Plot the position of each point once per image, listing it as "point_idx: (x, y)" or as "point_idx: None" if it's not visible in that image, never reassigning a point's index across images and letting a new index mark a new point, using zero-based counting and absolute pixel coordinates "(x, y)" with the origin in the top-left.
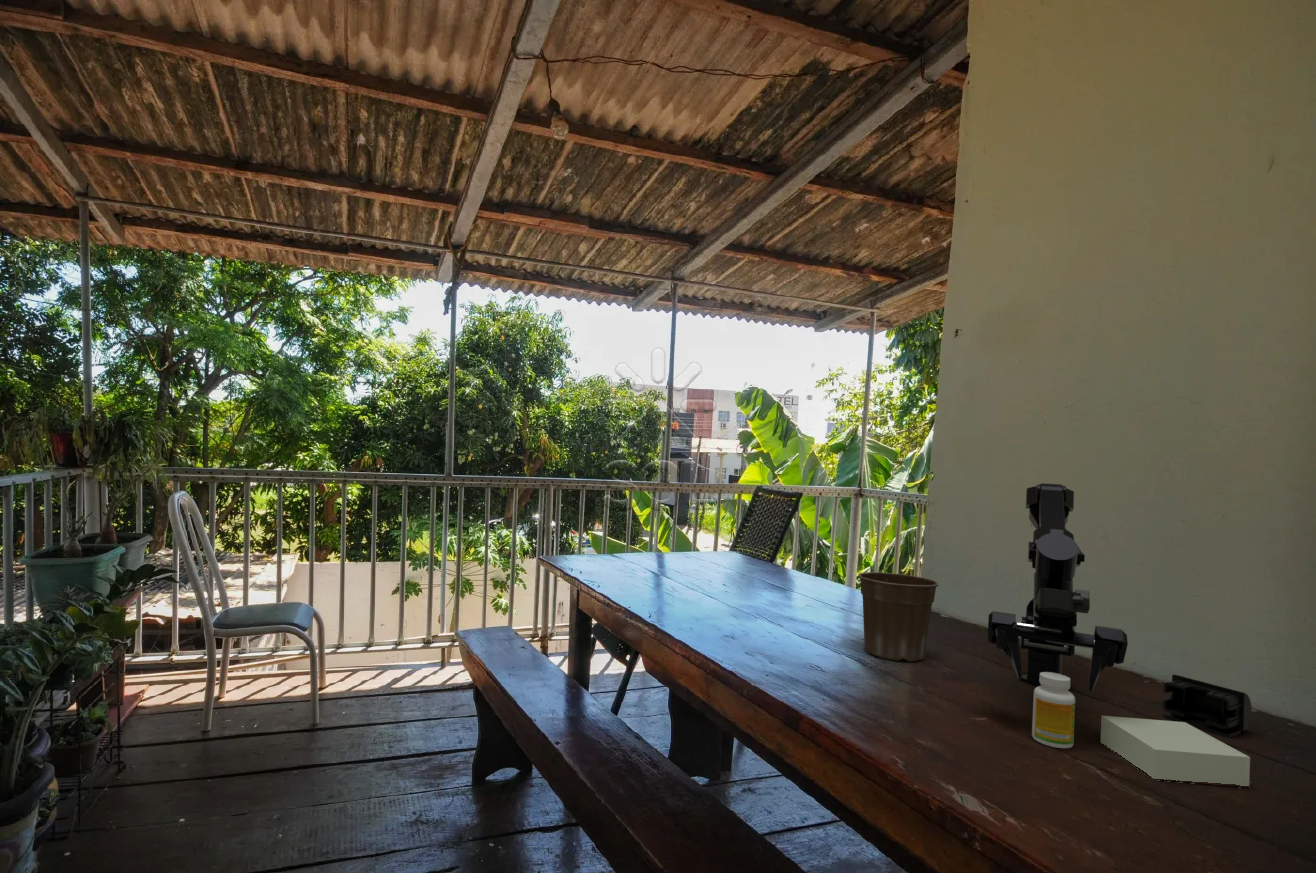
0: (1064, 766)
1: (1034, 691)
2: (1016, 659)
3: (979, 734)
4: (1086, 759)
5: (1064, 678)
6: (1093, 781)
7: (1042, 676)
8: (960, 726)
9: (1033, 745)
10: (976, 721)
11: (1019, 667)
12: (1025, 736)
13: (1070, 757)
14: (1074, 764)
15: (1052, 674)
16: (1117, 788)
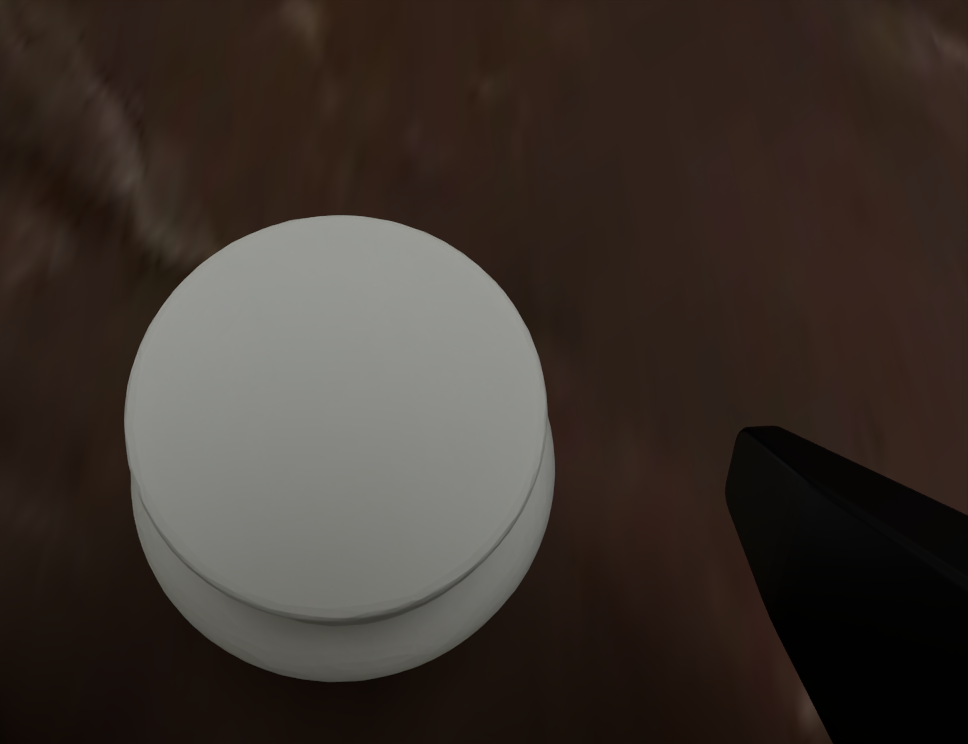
0: (305, 138)
1: (547, 419)
2: (957, 535)
3: (762, 336)
4: None
5: (211, 351)
6: (176, 28)
7: (504, 293)
8: (882, 402)
9: None
10: None
11: (830, 469)
12: None
13: None
14: (250, 199)
15: (376, 464)
16: (67, 8)
